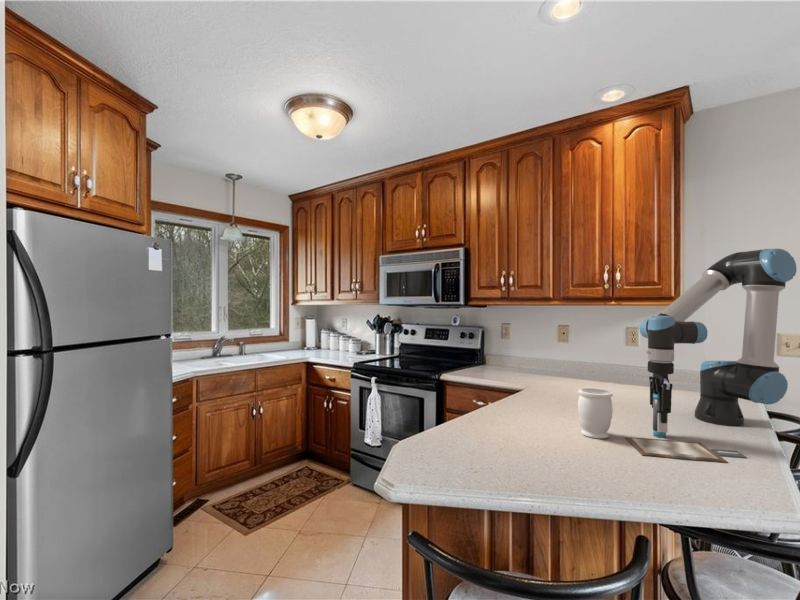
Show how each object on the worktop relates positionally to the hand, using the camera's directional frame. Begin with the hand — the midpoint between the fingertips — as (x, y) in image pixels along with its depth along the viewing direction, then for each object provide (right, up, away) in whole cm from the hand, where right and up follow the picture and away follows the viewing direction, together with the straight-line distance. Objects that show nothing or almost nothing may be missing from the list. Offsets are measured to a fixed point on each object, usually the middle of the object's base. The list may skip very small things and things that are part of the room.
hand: (659, 429), depth 140 cm
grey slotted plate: (+11, -2, -16) cm, 19 cm away
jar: (-22, -2, 0) cm, 22 cm away
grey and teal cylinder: (0, -2, 0) cm, 2 cm away
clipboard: (-4, -2, -12) cm, 13 cm away
